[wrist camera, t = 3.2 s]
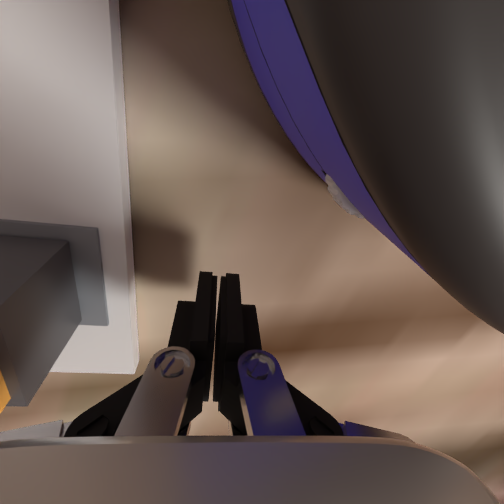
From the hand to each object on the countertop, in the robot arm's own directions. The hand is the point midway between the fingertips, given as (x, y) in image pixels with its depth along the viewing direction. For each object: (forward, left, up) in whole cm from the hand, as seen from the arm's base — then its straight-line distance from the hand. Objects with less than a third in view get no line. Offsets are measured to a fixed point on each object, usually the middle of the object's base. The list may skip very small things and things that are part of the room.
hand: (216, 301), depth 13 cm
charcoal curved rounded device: (-3, -11, -2) cm, 12 cm away
